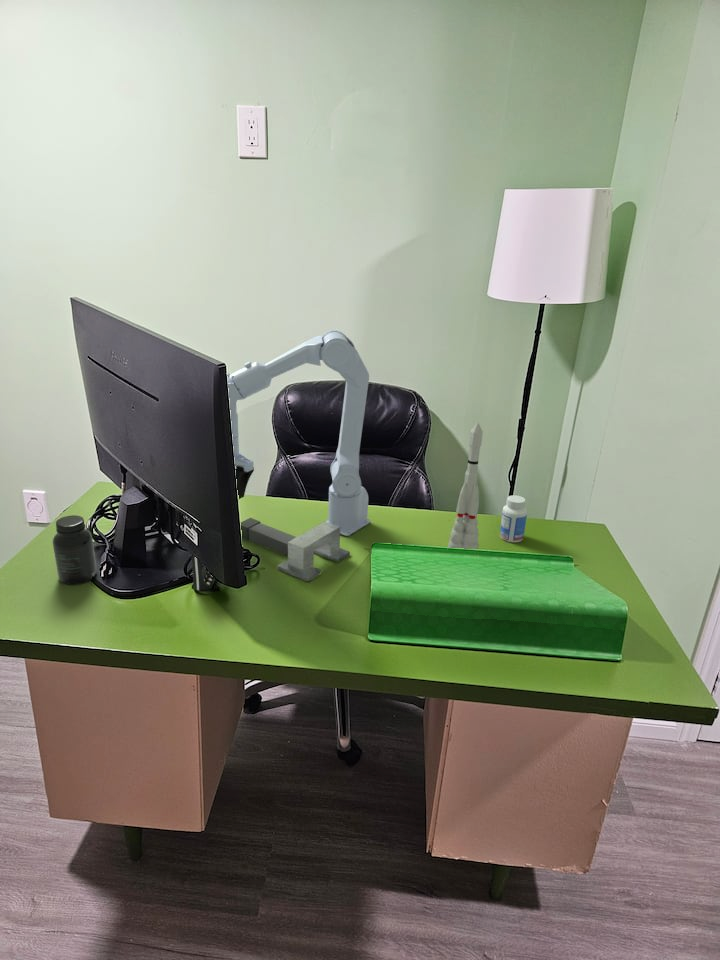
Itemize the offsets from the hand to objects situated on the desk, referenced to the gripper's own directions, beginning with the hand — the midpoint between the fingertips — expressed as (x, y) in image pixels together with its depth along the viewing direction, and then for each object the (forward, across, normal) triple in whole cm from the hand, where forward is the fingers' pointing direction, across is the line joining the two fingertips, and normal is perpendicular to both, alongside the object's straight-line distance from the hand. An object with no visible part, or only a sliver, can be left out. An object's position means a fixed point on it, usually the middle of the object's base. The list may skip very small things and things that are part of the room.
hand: (227, 493), depth 141 cm
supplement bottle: (+9, -7, -33) cm, 35 cm away
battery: (+9, +14, -19) cm, 25 cm away
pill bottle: (+9, +53, +37) cm, 65 cm away
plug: (+8, +12, 0) cm, 15 cm away
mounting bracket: (+8, +25, 0) cm, 26 cm away
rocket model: (+9, +48, +22) cm, 53 cm away
